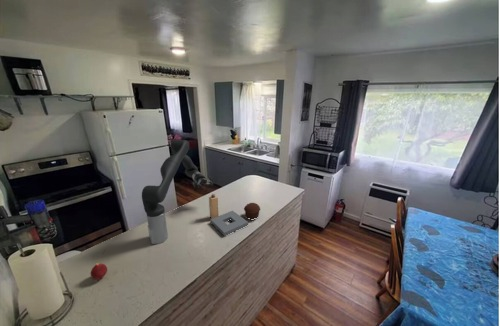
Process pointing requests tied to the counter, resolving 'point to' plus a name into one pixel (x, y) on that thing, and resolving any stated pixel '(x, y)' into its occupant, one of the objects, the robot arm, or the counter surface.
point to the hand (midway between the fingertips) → (207, 186)
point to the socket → (227, 229)
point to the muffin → (252, 210)
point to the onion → (98, 271)
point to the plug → (213, 206)
